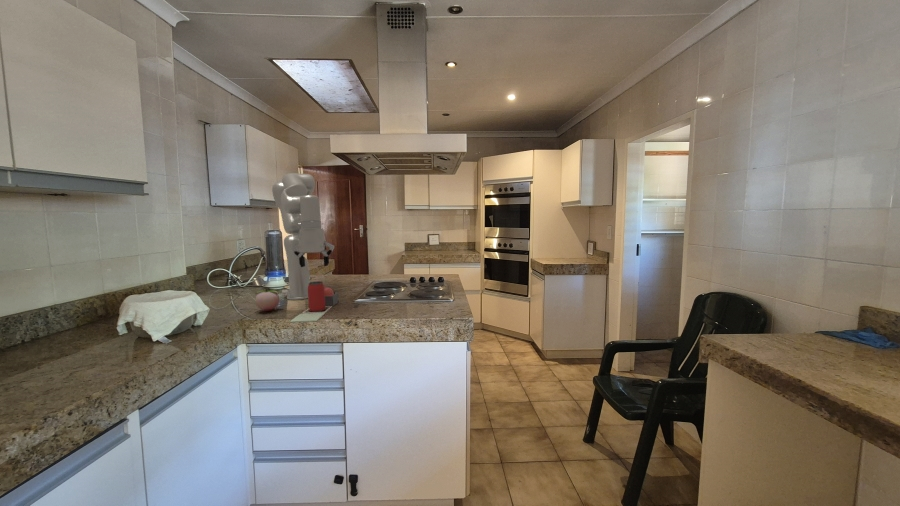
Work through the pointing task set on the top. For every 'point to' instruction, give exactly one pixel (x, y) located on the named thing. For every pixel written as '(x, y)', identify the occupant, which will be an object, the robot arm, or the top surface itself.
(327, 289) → the dome
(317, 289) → the beer can
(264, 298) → the decorative fruit
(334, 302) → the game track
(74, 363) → the top surface
